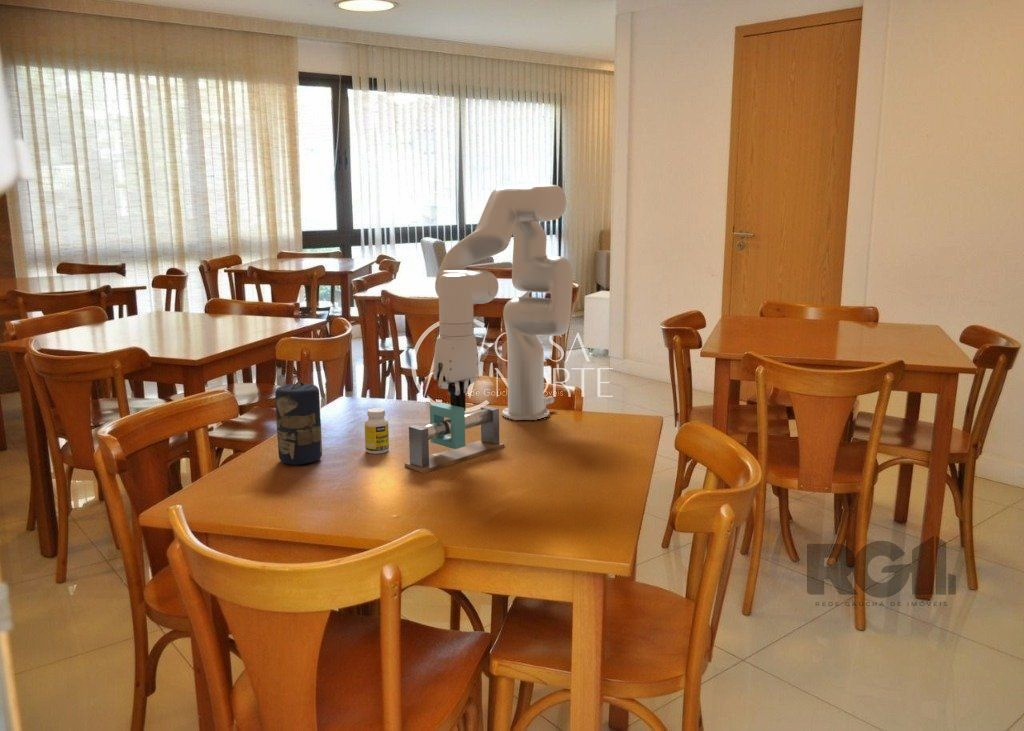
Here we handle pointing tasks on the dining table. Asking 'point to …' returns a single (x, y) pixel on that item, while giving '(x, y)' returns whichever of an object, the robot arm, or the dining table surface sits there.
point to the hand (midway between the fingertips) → (458, 410)
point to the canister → (298, 423)
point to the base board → (456, 455)
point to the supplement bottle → (376, 431)
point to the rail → (423, 434)
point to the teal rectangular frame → (457, 424)
